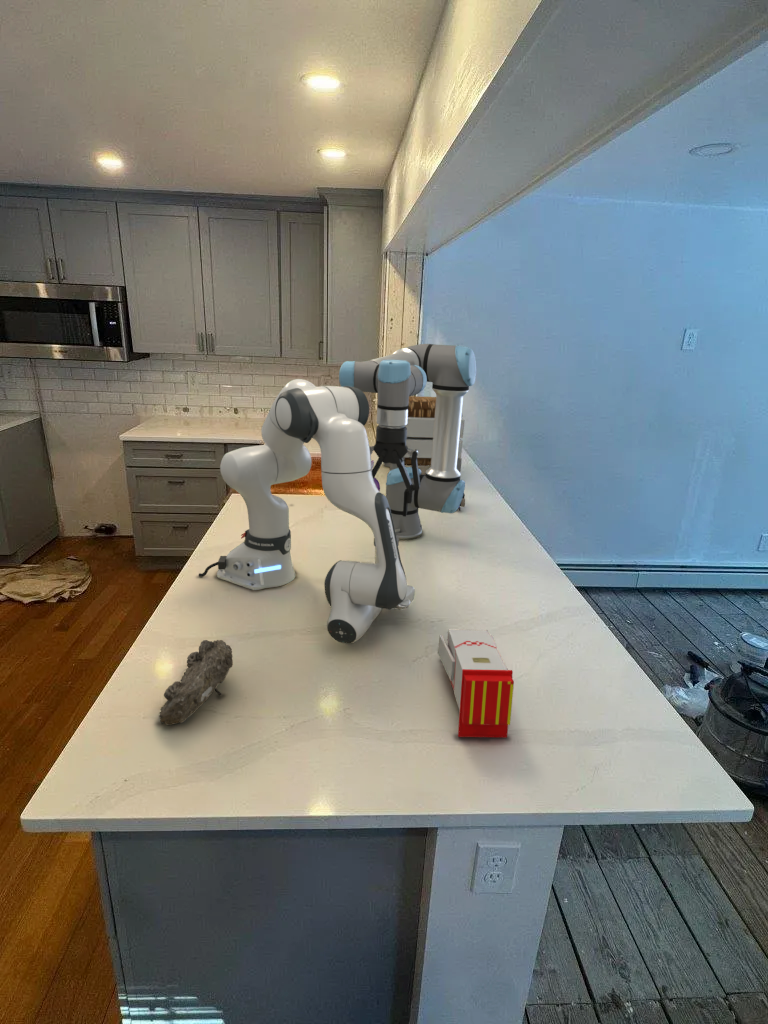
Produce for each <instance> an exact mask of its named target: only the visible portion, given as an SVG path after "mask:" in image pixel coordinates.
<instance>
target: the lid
mask: <svg viewBox="0 0 768 1024" xmlns="http://www.w3.org/2000/svg"><path fill="white" fill-rule="evenodd" d="M396 539H397V544H398V546H399V543H400V540H399V537H398V536H397V535H396ZM373 546H374V548H375V547H376V544H375V539H374V538H373Z"/></svg>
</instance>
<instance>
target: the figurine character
mask: <svg viewBox="0 0 768 1024" xmlns="http://www.w3.org/2000/svg"><path fill="white" fill-rule="evenodd" d="M465 496H466V494H465V493H464V494H463V497H462V500H461V503H460V505H459V507H458V509H457V510H458V511H461V510H462V509H461V508H465V505H466V497H465Z"/></svg>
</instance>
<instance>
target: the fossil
mask: <svg viewBox="0 0 768 1024" xmlns="http://www.w3.org/2000/svg"><path fill="white" fill-rule="evenodd" d="M233 658H234V656H233V650H232V647H231V645H229V644H227V643H226V641H224V640H223V639H216V640H213V641H212V640H208V639H203V640H202V641H201V642H200V645H198V651H193V652H191V653H189V655H188V656H187V658H186V659H187V660H186V667H187V668H186V669H185V671H184V672H183V674H182V675H181V678H180V680H176V681H174V682H173V683H172V684H171V685H169V686H168V687H167V688H166V690H165V692H164V693H163V697H164V698H165V699H166V701H165V703H164V705H162V706H160V709H159V710H160V712H159V713H158V714H159V716H158V717H159V719H160V723H164V724H165V725H166V726H167V725H168V726H170V725H171V726H172V725H174V724H175V725H176V724H179V723H180V724H183V723H184V722H185V721H186V720H187V719H188V718H189V717H190V716H191V715H193V714H194V713H195V712H196V711H197V710H198V709H199V708H200V707H201V706H203V705H204V704H205V703H206V702H207V700H208V698H209V697H210V696H211V694H213V693H214V692H215V693H216V694H217V695H218V696H222V693H221V691H220V690H219V689H218V688H217V687H218V685H219V684H222V683H223V681H224V680H226V676H227V675H228V673H229V671H230V669H231V668H232V667H233V665H234V660H233Z"/></svg>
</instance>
